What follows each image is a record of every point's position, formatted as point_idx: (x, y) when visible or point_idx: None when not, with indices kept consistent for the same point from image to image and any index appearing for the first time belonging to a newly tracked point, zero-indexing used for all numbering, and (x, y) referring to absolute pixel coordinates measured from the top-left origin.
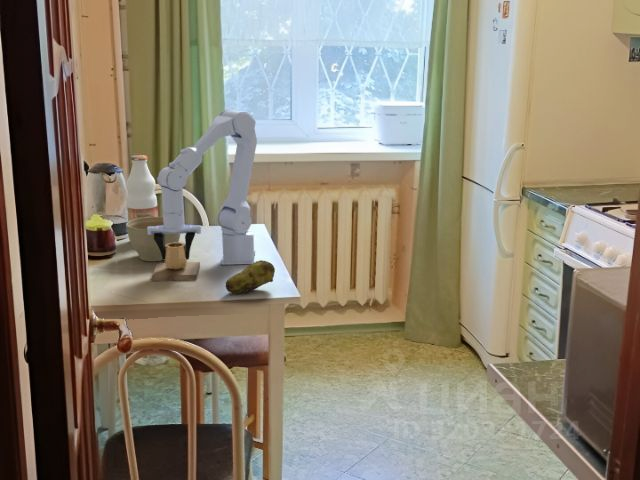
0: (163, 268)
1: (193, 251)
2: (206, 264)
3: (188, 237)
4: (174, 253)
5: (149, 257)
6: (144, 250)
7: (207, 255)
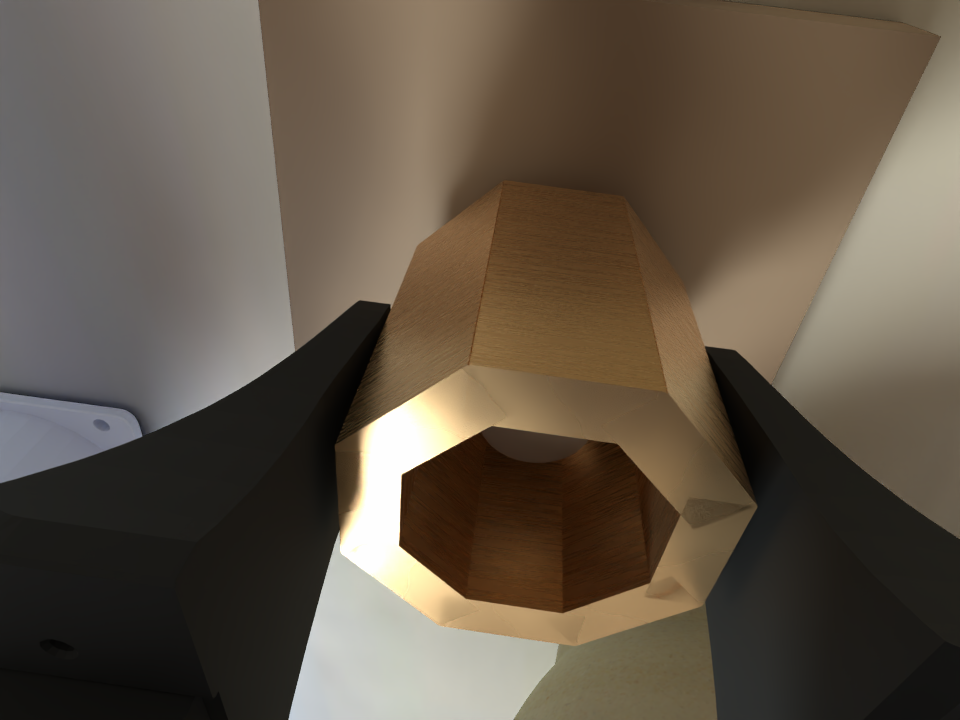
0: None
1: (411, 681)
2: None
3: (80, 533)
4: (564, 304)
5: None
6: None
7: None
